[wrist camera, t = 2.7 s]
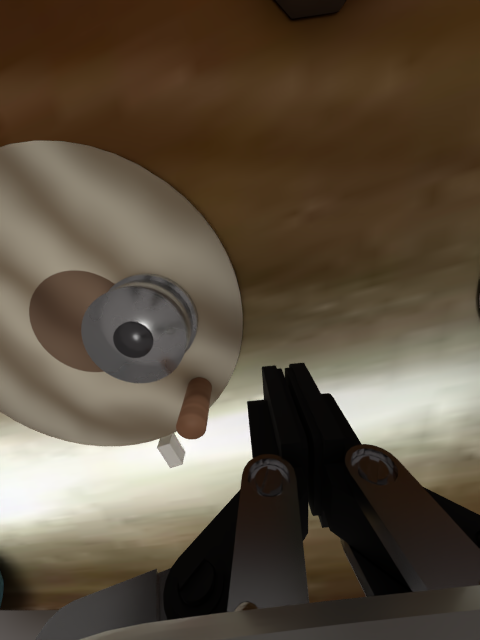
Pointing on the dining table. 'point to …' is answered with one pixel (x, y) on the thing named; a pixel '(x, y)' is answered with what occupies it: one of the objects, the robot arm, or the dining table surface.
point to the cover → (140, 328)
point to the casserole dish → (1, 587)
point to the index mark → (171, 450)
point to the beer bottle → (310, 7)
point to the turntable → (95, 280)
